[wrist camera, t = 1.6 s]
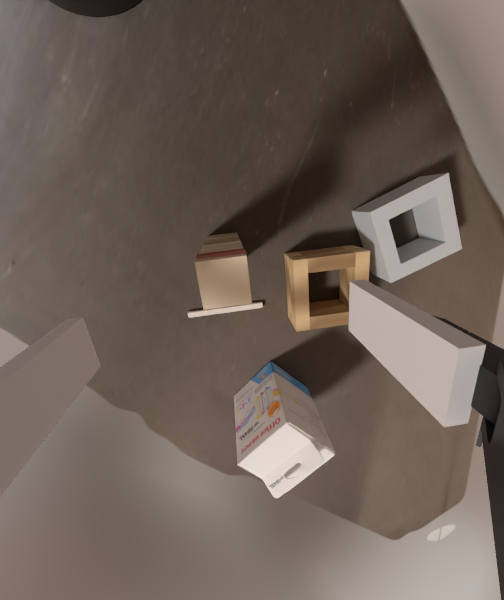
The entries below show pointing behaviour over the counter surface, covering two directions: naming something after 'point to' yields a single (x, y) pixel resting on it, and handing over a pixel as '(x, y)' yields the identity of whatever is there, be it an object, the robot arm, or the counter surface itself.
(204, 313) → the thin white stick
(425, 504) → the counter surface
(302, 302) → the wooden square frame
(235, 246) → the red-banded tall box
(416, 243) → the grey square frame
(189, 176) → the counter surface
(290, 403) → the ink box
